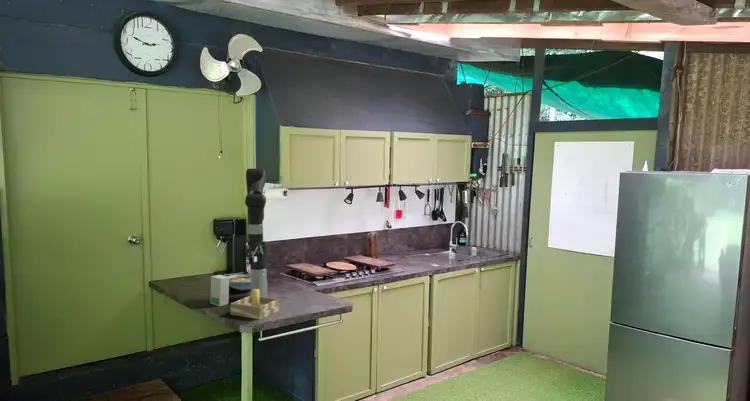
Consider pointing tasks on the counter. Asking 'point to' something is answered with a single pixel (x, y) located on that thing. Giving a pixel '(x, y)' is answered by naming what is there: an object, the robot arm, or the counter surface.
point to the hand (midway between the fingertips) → (255, 263)
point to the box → (255, 307)
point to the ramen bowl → (240, 281)
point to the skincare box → (219, 290)
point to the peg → (255, 297)
